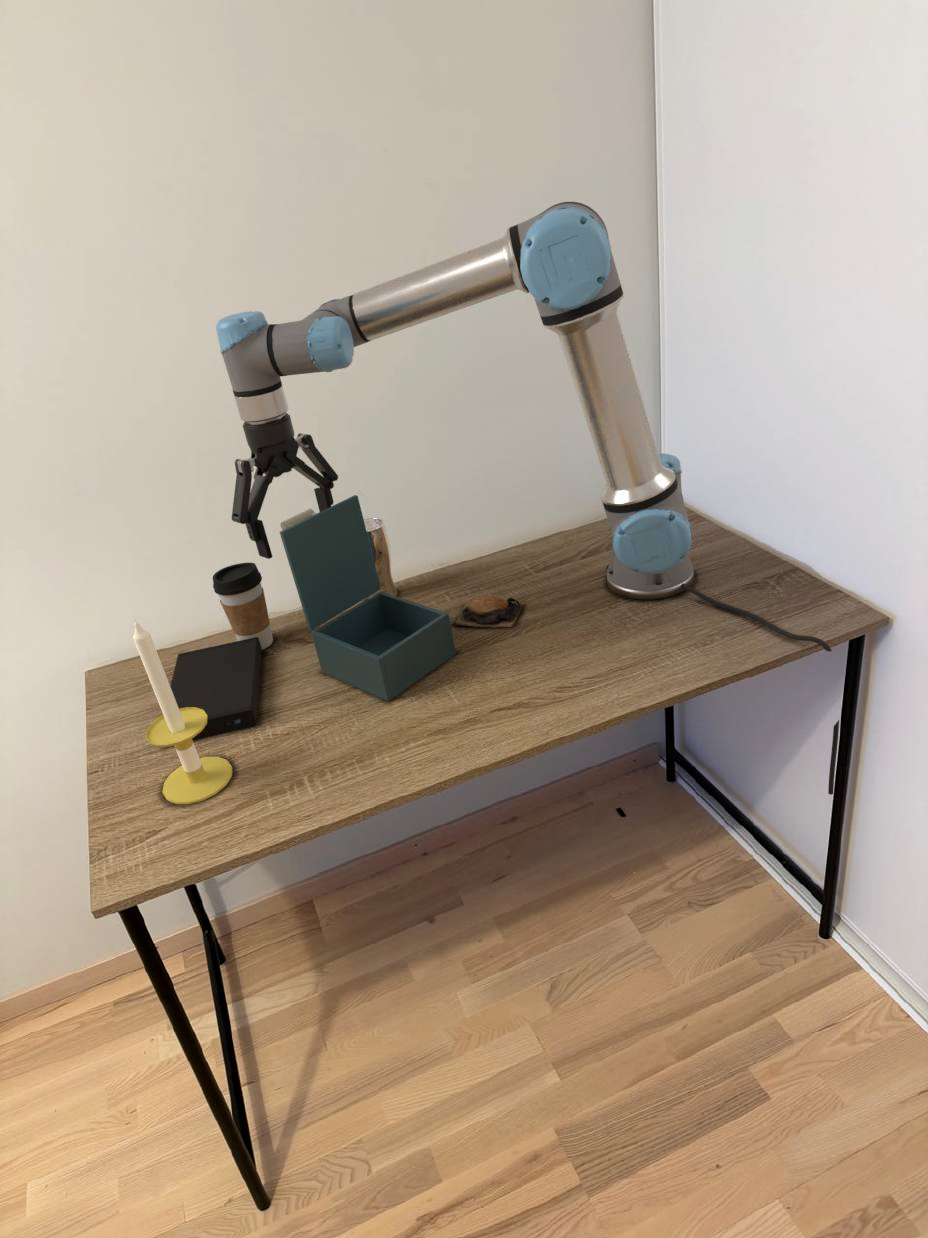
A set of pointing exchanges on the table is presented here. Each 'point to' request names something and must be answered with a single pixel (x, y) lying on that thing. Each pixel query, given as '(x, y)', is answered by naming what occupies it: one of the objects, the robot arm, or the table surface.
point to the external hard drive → (220, 684)
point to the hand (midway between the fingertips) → (298, 540)
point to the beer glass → (381, 554)
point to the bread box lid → (330, 559)
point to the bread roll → (489, 612)
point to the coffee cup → (244, 602)
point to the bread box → (384, 644)
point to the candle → (180, 735)
